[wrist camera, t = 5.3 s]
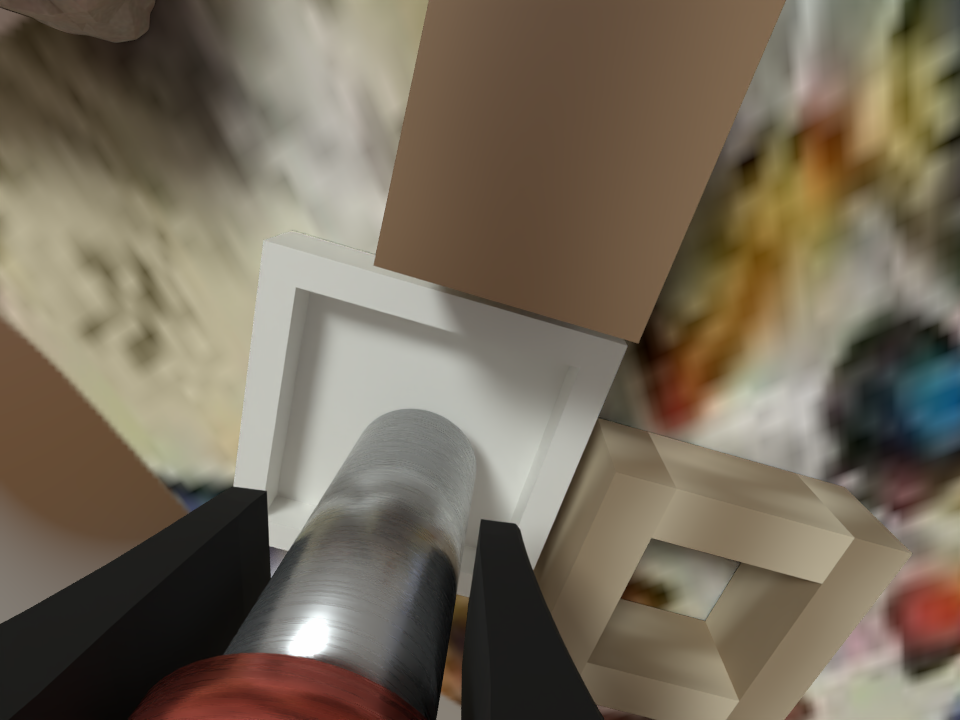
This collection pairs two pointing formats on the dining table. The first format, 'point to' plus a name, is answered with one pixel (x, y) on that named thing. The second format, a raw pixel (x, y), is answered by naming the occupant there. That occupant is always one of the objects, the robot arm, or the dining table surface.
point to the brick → (89, 16)
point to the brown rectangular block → (565, 148)
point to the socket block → (745, 601)
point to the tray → (411, 386)
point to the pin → (351, 594)
